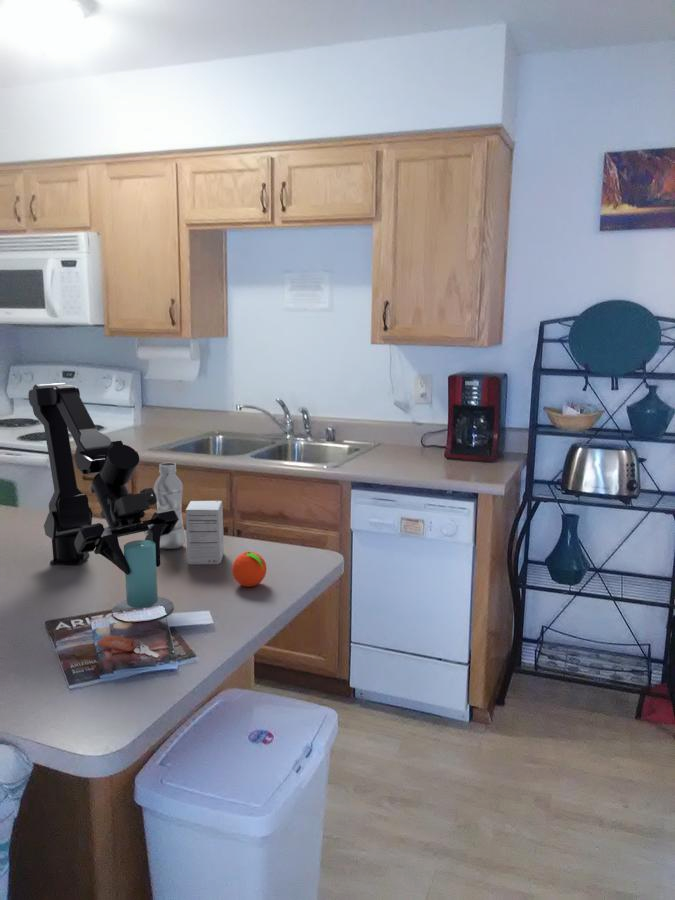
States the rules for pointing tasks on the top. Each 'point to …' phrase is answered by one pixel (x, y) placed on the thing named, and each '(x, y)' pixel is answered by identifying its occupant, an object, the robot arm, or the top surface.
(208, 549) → the supplement box
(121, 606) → the coaster
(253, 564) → the clementine
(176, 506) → the plastic bottle
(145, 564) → the cylinder
